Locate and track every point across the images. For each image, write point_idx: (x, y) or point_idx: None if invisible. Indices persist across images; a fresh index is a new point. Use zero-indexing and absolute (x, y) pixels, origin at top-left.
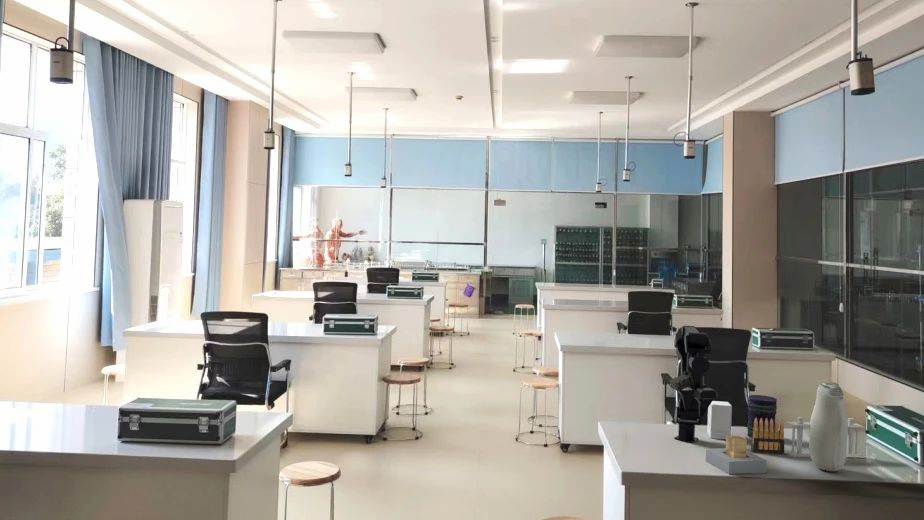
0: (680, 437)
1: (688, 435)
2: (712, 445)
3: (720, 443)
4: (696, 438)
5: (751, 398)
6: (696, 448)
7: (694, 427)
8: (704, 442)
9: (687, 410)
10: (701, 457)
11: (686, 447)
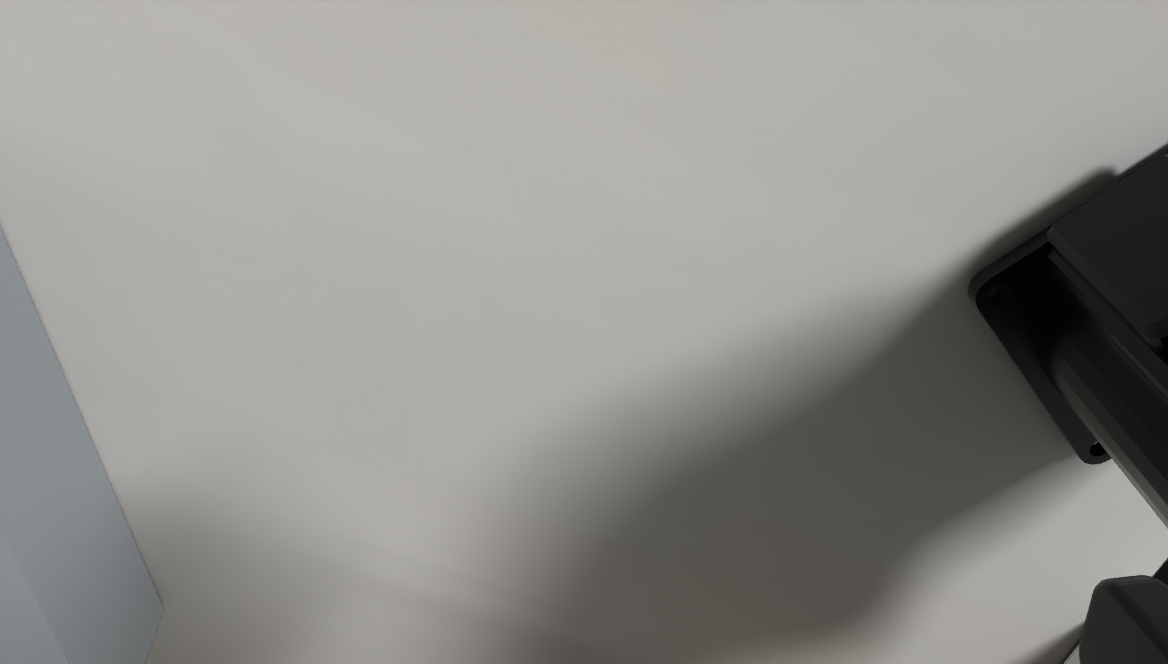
0: (1141, 187)
1: (1087, 329)
2: (798, 523)
3: (866, 635)
4: (1088, 436)
5: None
6: (676, 255)
7: (1160, 517)
8: (947, 480)
9: (1084, 634)
10: (161, 127)
11: (744, 110)
